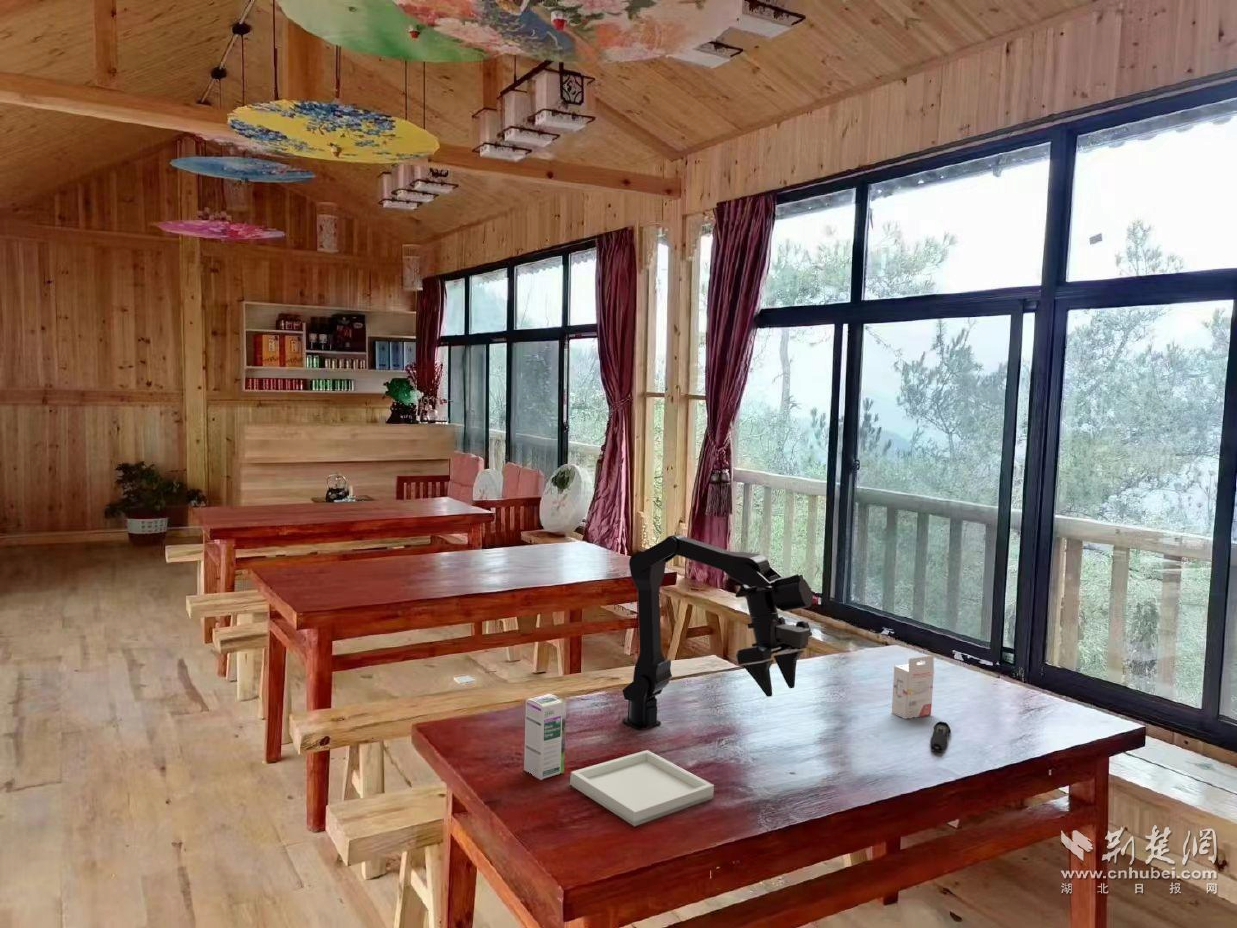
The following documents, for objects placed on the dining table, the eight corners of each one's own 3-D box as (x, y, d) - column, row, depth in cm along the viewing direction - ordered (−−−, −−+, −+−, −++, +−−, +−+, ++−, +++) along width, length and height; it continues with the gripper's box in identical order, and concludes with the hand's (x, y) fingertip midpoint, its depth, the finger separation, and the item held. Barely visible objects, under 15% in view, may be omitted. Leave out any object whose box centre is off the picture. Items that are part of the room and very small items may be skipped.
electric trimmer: (926, 754, 188) (927, 740, 188) (933, 730, 202) (934, 717, 202) (944, 758, 187) (945, 744, 186) (951, 733, 200) (952, 720, 200)
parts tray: (570, 784, 165) (570, 771, 165) (646, 761, 177) (647, 749, 177) (634, 826, 150) (635, 812, 150) (713, 798, 162) (713, 785, 162)
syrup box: (540, 780, 166) (543, 706, 165) (522, 769, 170) (525, 697, 169) (564, 773, 170) (567, 700, 169) (546, 762, 174) (549, 691, 173)
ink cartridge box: (915, 708, 216) (920, 649, 215) (931, 715, 211) (936, 655, 210) (890, 712, 212) (894, 653, 211) (905, 719, 207) (909, 659, 206)
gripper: (775, 614, 168) (793, 696, 165) (819, 604, 182) (837, 679, 180) (727, 623, 175) (744, 702, 172) (773, 612, 189) (789, 685, 186)
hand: (781, 692), depth 177 cm, fingers open, 9 cm apart
